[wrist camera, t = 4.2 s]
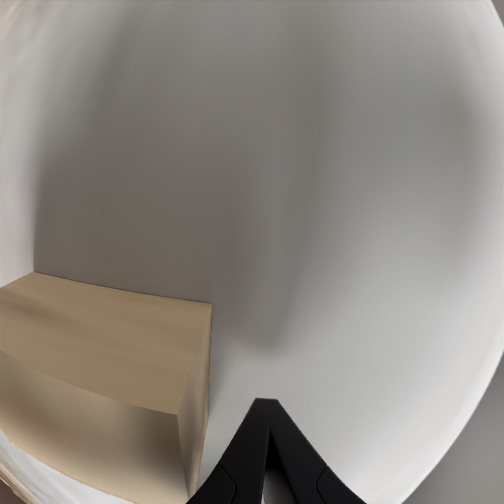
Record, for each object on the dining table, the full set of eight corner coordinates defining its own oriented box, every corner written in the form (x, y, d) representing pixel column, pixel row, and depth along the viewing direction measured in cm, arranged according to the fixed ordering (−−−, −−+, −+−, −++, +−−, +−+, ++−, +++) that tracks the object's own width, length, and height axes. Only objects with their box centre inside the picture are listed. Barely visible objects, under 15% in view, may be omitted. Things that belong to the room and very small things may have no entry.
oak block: (207, 422, 10) (191, 516, 5) (58, 381, 10) (10, 441, 5) (212, 303, 9) (177, 414, 4) (33, 271, 9) (-50, 316, 4)
